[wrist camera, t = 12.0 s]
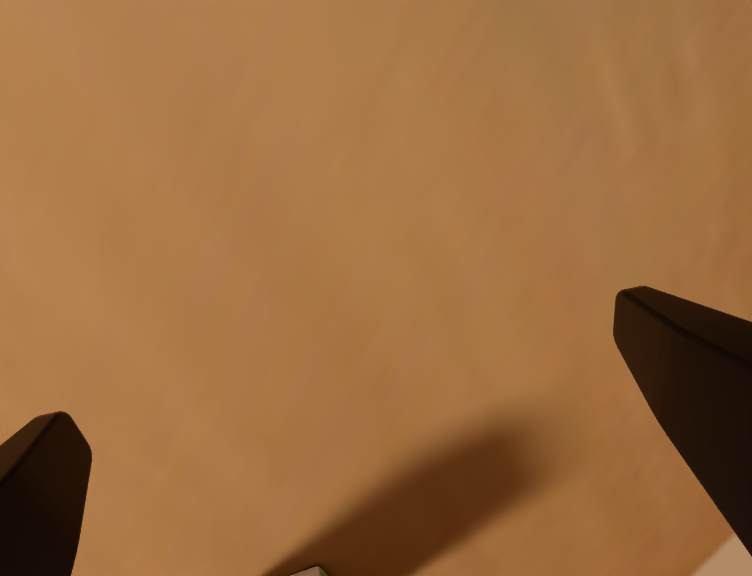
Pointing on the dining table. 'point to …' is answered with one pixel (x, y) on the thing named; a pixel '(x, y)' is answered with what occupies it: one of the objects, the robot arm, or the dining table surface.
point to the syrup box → (311, 572)
